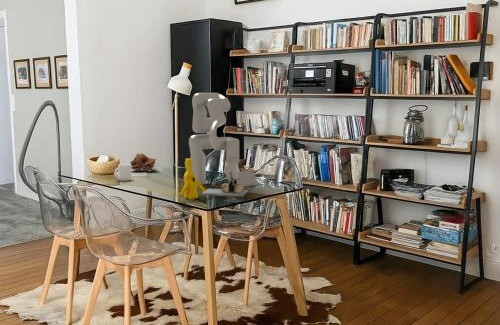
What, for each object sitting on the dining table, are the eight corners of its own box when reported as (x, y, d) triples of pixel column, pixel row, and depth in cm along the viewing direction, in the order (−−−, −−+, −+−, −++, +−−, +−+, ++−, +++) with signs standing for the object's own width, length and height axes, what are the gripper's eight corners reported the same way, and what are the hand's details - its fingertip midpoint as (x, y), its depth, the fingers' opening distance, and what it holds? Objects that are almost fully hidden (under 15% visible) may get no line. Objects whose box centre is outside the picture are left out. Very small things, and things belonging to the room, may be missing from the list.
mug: (117, 182, 343) (117, 166, 342) (111, 180, 349) (110, 165, 348) (133, 179, 351) (133, 164, 350) (127, 178, 357) (126, 163, 356)
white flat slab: (202, 194, 300) (201, 192, 300) (208, 190, 312) (208, 188, 312) (242, 196, 295) (242, 194, 294) (247, 192, 307) (247, 190, 307)
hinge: (237, 187, 323) (234, 171, 325) (233, 188, 327) (230, 173, 329) (258, 184, 333) (255, 169, 335) (254, 186, 337) (251, 171, 338)
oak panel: (221, 191, 301) (221, 184, 300) (224, 189, 307) (224, 183, 306) (241, 192, 298) (241, 185, 298) (244, 190, 304) (244, 184, 303)
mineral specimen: (131, 174, 400) (127, 155, 400) (157, 169, 405) (153, 150, 404) (131, 175, 379) (127, 155, 379) (158, 170, 384) (154, 150, 383)
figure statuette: (182, 201, 281) (181, 161, 279) (174, 199, 287) (173, 159, 284) (208, 196, 293) (207, 158, 291) (199, 195, 299) (199, 157, 296)
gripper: (230, 157, 309) (230, 187, 311) (222, 161, 292) (222, 193, 295) (242, 158, 307) (242, 188, 310) (235, 161, 291) (235, 193, 293)
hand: (232, 190), depth 302 cm, fingers closed on oak panel, 6 cm apart
